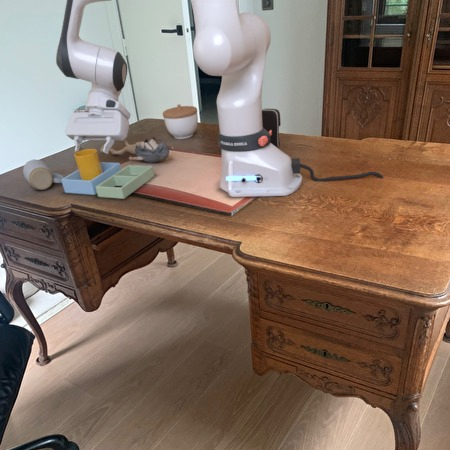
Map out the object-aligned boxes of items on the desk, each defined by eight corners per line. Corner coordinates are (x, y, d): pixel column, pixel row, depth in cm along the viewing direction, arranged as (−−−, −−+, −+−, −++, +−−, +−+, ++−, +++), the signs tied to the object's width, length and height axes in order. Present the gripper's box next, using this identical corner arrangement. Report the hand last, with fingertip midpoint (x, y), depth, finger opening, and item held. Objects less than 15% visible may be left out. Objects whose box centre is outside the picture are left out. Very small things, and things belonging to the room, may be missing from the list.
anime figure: (127, 134, 157) (175, 134, 136) (133, 155, 161) (181, 158, 140) (103, 142, 153) (150, 143, 131) (110, 163, 156) (156, 167, 135)
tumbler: (109, 178, 134) (101, 149, 129) (96, 187, 129) (87, 156, 124) (91, 177, 136) (83, 148, 131) (78, 186, 132) (69, 156, 126)
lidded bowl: (205, 131, 167) (202, 100, 161) (190, 141, 158) (185, 109, 152) (177, 130, 172) (172, 100, 165) (160, 140, 163) (155, 109, 156)
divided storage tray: (154, 175, 133) (152, 166, 132) (124, 198, 121) (121, 188, 119) (130, 174, 136) (128, 165, 135) (98, 196, 124) (95, 186, 122)
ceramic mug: (33, 194, 131) (24, 169, 127) (28, 186, 137) (19, 162, 132) (68, 184, 135) (61, 160, 131) (61, 177, 141) (54, 154, 137)
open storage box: (123, 175, 136) (119, 162, 134) (94, 194, 126) (90, 181, 123) (94, 174, 140) (91, 161, 138) (65, 192, 130) (60, 179, 127)
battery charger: (282, 144, 145) (281, 107, 138) (277, 148, 142) (276, 111, 135) (263, 143, 148) (262, 107, 141) (258, 146, 145) (256, 110, 139)
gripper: (66, 103, 132) (56, 147, 130) (123, 102, 124) (112, 148, 123) (80, 115, 137) (70, 156, 136) (135, 114, 130) (125, 158, 129)
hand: (90, 152), depth 129 cm, fingers open, 8 cm apart
